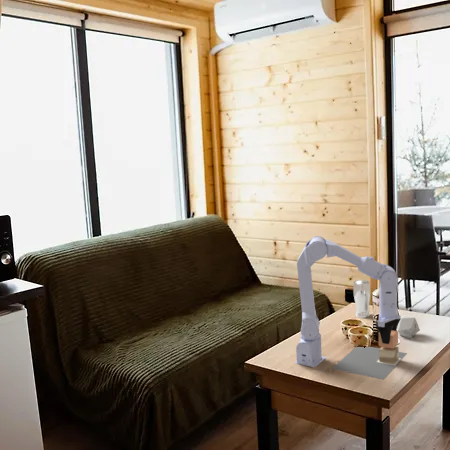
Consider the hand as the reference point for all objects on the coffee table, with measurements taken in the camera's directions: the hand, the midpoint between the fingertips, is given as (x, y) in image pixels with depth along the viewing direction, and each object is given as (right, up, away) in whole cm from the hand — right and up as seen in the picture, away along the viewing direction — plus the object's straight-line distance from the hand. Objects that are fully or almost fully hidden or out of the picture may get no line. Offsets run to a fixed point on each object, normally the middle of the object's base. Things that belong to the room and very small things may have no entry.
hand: (388, 340), depth 191 cm
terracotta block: (0, -1, 0) cm, 2 cm away
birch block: (+1, -7, +1) cm, 7 cm away
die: (+14, -3, +24) cm, 28 cm away
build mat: (-6, -8, +2) cm, 10 cm away
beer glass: (+3, 0, +50) cm, 50 cm away
